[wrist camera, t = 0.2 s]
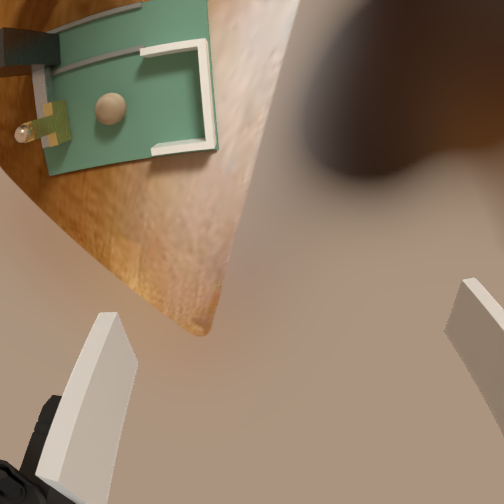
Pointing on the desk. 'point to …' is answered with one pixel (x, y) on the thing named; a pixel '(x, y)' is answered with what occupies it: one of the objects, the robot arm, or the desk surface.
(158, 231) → the desk surface
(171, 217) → the desk surface
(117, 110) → the ball
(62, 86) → the board
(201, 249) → the desk surface
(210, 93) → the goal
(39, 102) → the block
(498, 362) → the robot arm
